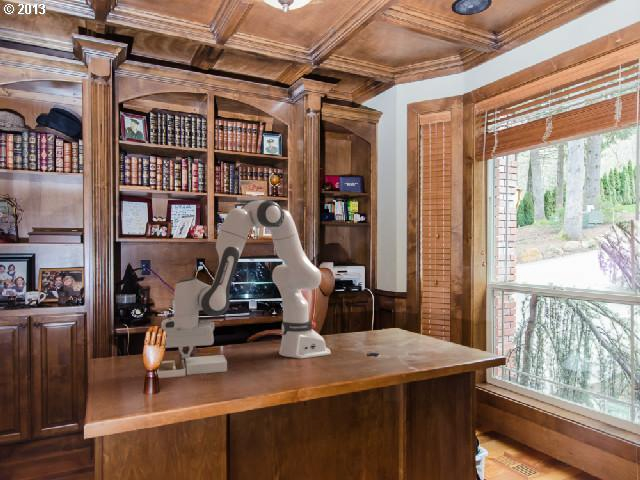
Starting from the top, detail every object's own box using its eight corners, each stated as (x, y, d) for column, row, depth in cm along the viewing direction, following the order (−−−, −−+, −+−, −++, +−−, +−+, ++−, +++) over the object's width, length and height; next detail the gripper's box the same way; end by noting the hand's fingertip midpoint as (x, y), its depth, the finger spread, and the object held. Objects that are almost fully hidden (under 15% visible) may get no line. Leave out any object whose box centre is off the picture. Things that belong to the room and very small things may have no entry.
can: (191, 363, 175) (192, 328, 176) (177, 362, 177) (177, 327, 177) (198, 359, 181) (199, 325, 181) (184, 358, 183) (184, 325, 183)
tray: (183, 365, 173) (183, 359, 173) (185, 376, 160) (185, 369, 160) (156, 367, 169) (156, 361, 169) (155, 378, 156) (155, 371, 156)
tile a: (180, 354, 168) (173, 356, 167) (181, 357, 164) (174, 358, 163) (182, 367, 168) (175, 369, 167) (183, 370, 164) (176, 371, 163)
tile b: (158, 363, 165) (158, 370, 165) (158, 366, 161) (158, 373, 161) (172, 362, 167) (172, 369, 167) (173, 365, 163) (172, 372, 163)
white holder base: (223, 363, 176) (223, 354, 176) (226, 371, 166) (227, 361, 166) (185, 366, 172) (185, 357, 172) (186, 374, 161) (186, 365, 161)
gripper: (213, 318, 173) (213, 354, 173) (157, 321, 166) (157, 358, 166) (215, 321, 167) (214, 358, 167) (157, 324, 160) (157, 362, 160)
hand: (185, 358), depth 166 cm, fingers closed
